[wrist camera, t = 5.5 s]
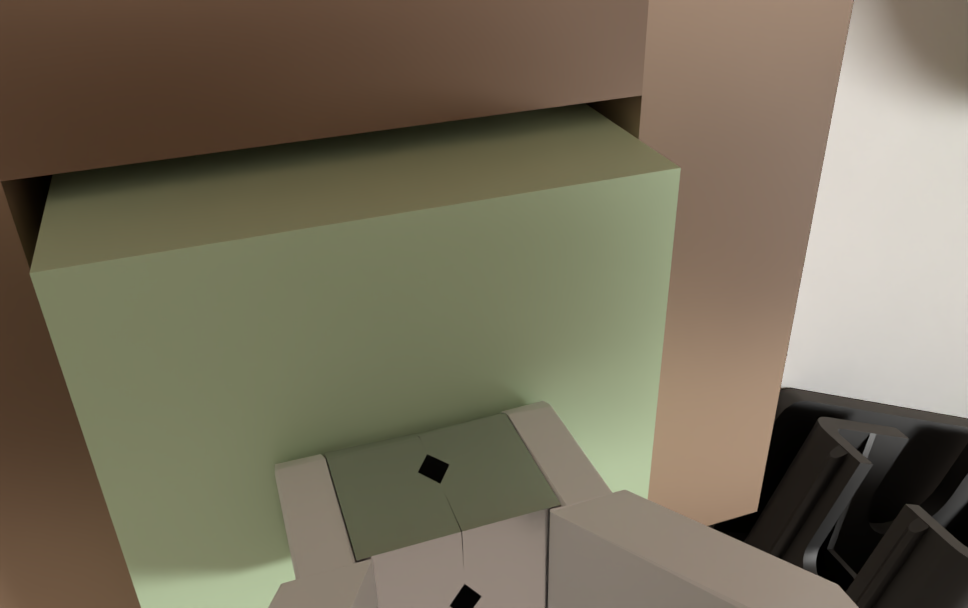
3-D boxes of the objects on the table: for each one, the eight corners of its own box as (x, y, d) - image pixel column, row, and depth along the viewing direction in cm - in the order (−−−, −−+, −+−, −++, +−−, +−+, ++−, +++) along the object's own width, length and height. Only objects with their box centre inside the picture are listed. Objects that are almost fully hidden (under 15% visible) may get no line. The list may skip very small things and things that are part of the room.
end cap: (632, 602, 23) (791, 856, 17) (757, 379, 20) (990, 595, 15) (883, 605, 27) (1072, 808, 22) (1011, 424, 25) (1262, 602, 19)
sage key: (64, 123, 10) (30, 273, 7) (531, 67, 12) (680, 168, 9) (169, 497, 13) (179, 723, 10) (529, 412, 15) (639, 582, 12)
